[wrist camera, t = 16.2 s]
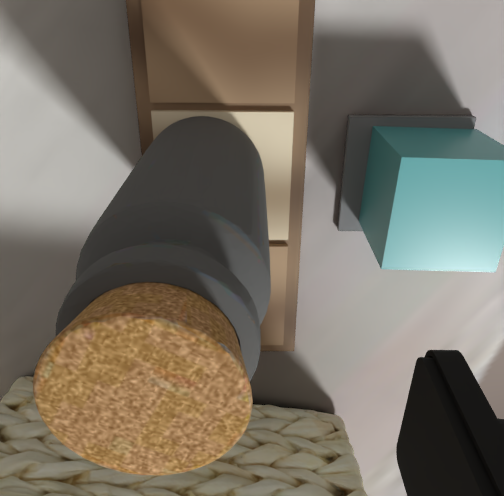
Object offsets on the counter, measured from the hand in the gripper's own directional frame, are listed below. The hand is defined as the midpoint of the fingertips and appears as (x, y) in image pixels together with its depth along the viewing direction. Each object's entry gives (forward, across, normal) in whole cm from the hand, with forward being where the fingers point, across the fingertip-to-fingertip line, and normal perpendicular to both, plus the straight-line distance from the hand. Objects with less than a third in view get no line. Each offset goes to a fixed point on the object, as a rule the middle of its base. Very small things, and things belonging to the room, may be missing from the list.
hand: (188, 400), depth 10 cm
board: (+16, 0, +1) cm, 16 cm away
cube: (+16, -9, +1) cm, 18 cm away
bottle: (+15, +1, +1) cm, 15 cm away
